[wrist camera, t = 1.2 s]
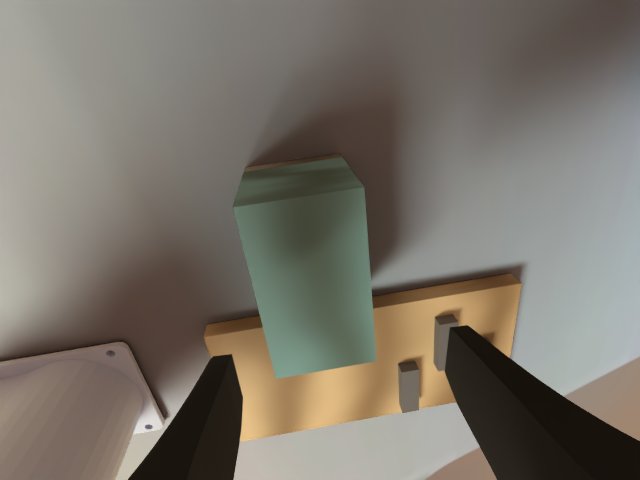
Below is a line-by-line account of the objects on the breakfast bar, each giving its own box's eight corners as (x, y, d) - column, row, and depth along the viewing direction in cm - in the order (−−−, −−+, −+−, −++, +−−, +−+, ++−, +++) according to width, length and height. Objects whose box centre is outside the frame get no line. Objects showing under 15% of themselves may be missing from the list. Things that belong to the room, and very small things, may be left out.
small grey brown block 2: (433, 362, 24) (438, 371, 24) (434, 317, 23) (439, 325, 22) (450, 359, 25) (455, 368, 24) (452, 313, 23) (458, 321, 22)
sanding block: (276, 305, 23) (275, 378, 17) (245, 167, 19) (232, 207, 13) (353, 292, 23) (376, 361, 17) (339, 152, 19) (364, 187, 13)
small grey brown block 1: (399, 403, 26) (402, 412, 25) (397, 363, 24) (401, 372, 23) (415, 400, 26) (419, 410, 25) (415, 360, 24) (419, 369, 23)
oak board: (241, 426, 27) (240, 441, 26) (206, 324, 22) (203, 337, 21) (495, 380, 28) (504, 393, 27) (510, 273, 23) (521, 283, 22)
